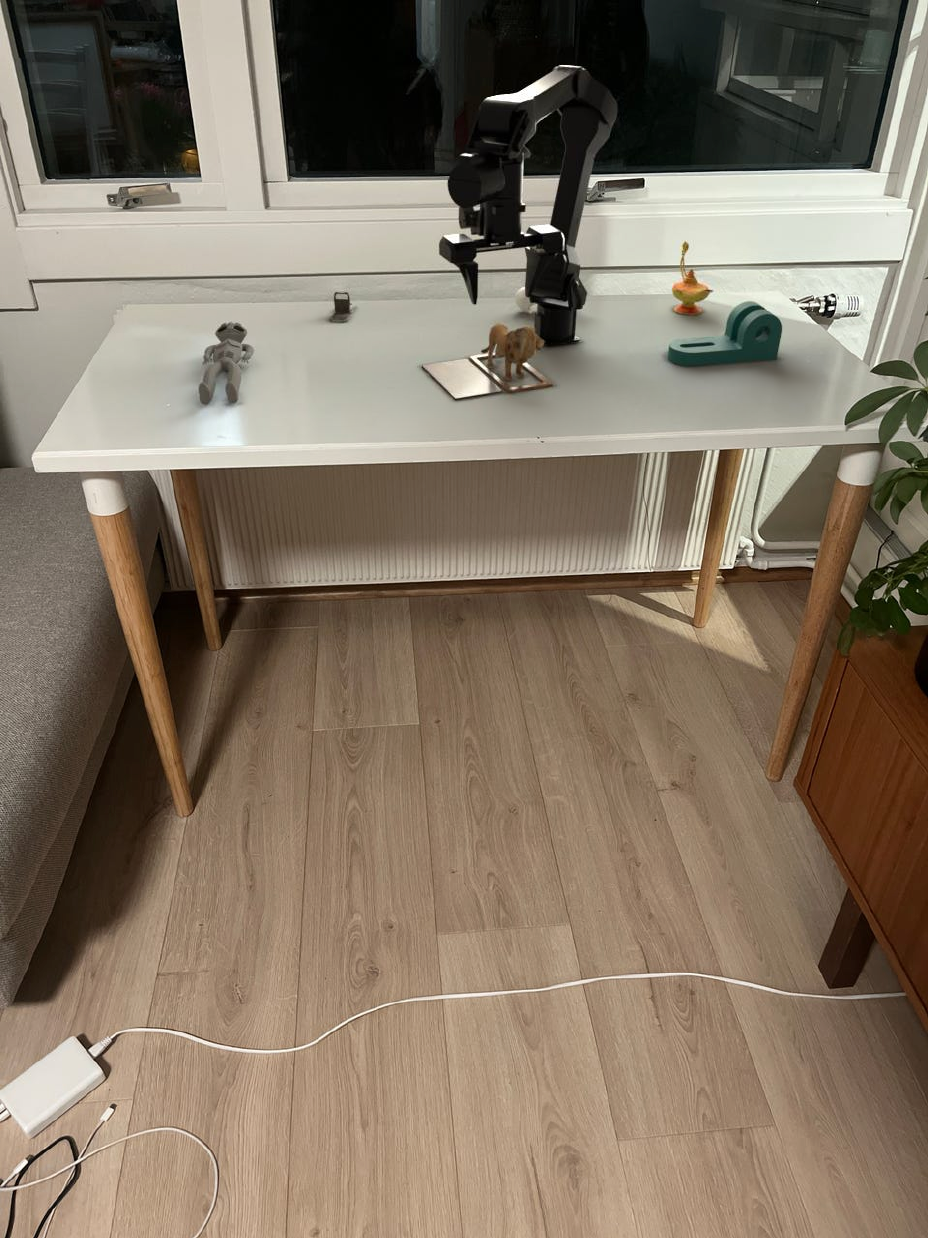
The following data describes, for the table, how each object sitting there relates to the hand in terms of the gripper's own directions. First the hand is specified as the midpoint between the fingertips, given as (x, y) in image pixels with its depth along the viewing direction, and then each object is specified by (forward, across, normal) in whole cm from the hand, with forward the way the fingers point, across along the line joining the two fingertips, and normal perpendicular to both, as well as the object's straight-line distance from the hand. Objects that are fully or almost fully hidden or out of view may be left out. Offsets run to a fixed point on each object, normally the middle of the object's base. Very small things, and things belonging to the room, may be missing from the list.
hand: (501, 300), depth 152 cm
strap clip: (+12, +16, -37) cm, 42 cm away
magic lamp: (+12, -45, -13) cm, 48 cm away
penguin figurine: (+12, -20, -24) cm, 33 cm away
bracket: (+12, -37, +8) cm, 40 cm away
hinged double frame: (+12, +3, +1) cm, 12 cm away
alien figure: (+12, +42, -14) cm, 46 cm away
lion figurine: (+12, -1, +1) cm, 12 cm away
